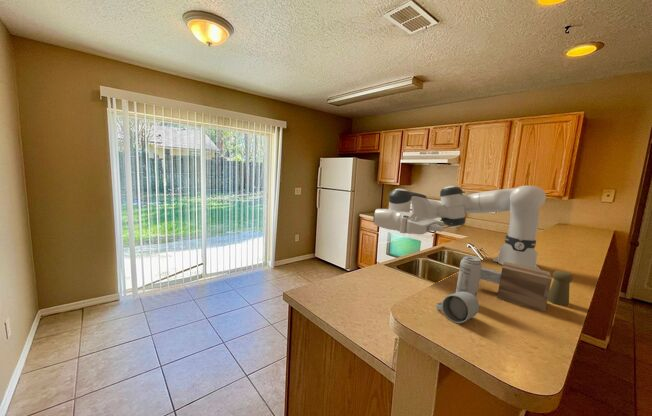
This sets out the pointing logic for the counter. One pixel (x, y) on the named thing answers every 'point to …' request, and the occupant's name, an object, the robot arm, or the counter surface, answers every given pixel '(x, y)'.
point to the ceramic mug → (459, 306)
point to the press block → (524, 286)
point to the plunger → (490, 275)
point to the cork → (560, 288)
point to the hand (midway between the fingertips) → (443, 229)
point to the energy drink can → (469, 275)
